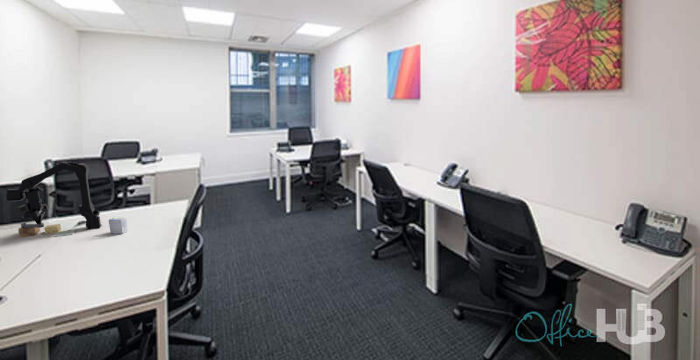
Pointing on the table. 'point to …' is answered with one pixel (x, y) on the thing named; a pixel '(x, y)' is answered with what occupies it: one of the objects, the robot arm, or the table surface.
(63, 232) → the glass plate
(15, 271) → the table surface
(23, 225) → the lever
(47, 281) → the table surface
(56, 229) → the brass block
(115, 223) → the medicine box
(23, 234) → the plane block
